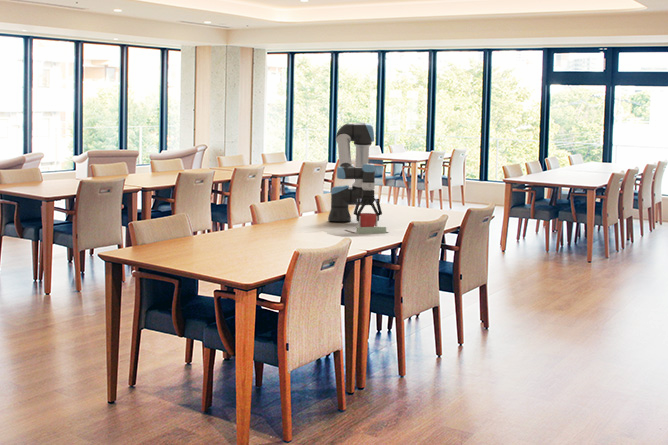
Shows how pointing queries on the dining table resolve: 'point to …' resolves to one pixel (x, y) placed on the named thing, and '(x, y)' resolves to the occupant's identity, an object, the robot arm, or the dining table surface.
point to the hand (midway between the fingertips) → (367, 226)
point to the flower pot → (367, 219)
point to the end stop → (370, 229)
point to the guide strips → (354, 232)
